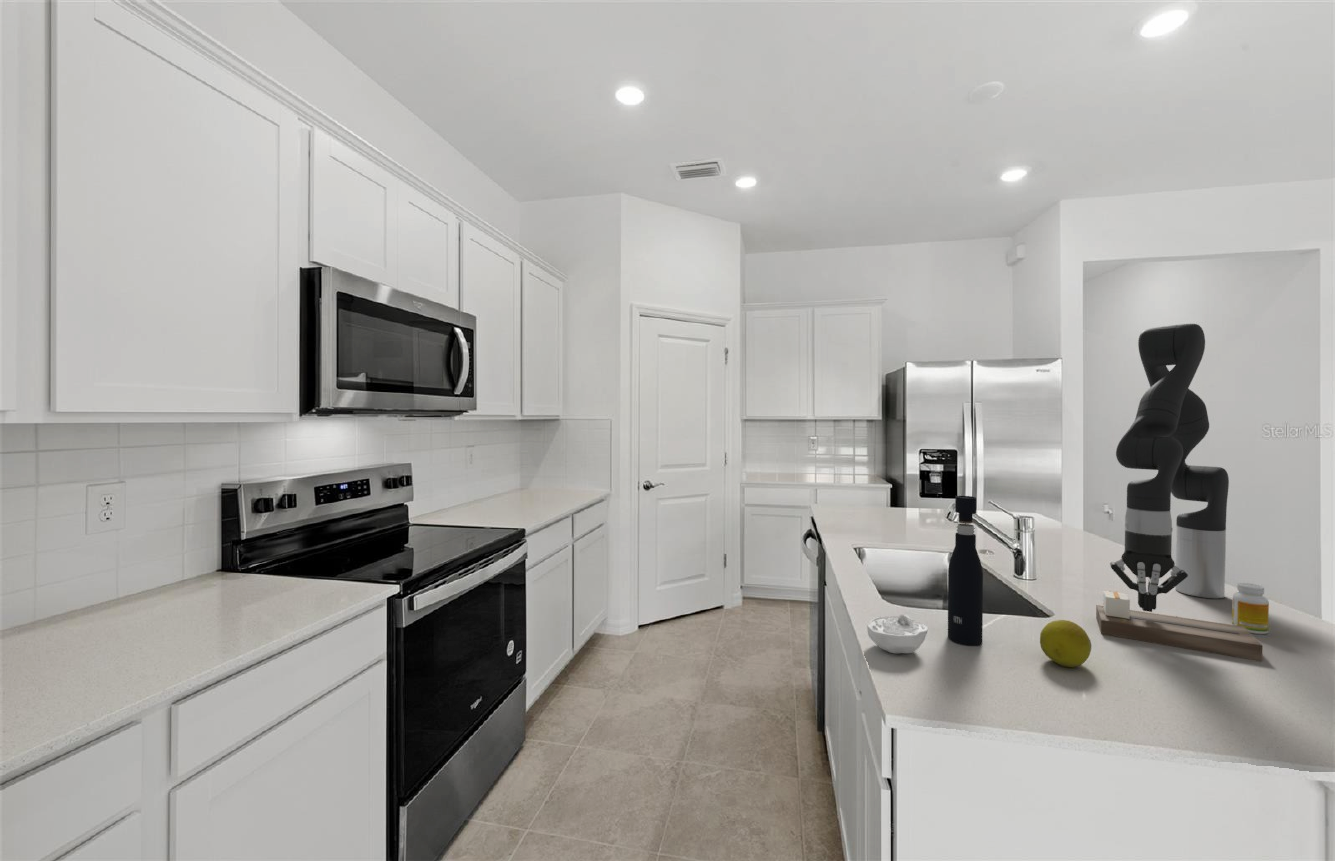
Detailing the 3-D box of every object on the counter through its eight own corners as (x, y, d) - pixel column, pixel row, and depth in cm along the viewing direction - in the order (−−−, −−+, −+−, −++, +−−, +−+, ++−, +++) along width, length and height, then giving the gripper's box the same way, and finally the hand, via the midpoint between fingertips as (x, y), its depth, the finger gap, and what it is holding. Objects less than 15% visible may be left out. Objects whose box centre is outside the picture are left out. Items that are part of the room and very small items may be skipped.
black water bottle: (978, 635, 116) (979, 495, 116) (985, 647, 110) (986, 499, 110) (945, 631, 119) (946, 494, 118) (950, 643, 112) (951, 498, 112)
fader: (1103, 608, 123) (1103, 589, 123) (1126, 611, 121) (1126, 592, 121) (1105, 615, 119) (1105, 595, 119) (1129, 618, 117) (1129, 599, 116)
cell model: (855, 643, 113) (855, 610, 113) (905, 637, 116) (905, 605, 116) (886, 664, 103) (886, 629, 103) (940, 657, 106) (940, 622, 106)
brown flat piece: (1096, 617, 126) (1096, 604, 126) (1243, 641, 113) (1243, 625, 113) (1101, 633, 117) (1101, 619, 117) (1262, 661, 104) (1262, 644, 103)
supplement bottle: (1275, 635, 115) (1276, 590, 115) (1245, 633, 116) (1246, 588, 116) (1254, 626, 121) (1255, 582, 120) (1225, 624, 122) (1226, 581, 121)
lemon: (1078, 679, 97) (1079, 634, 97) (1029, 663, 103) (1030, 621, 103) (1101, 663, 103) (1101, 621, 103) (1053, 649, 110) (1054, 609, 109)
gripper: (1186, 530, 116) (1184, 610, 116) (1106, 523, 123) (1105, 599, 124) (1194, 536, 110) (1193, 622, 110) (1110, 529, 117) (1109, 609, 118)
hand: (1146, 610), depth 117 cm, fingers closed
